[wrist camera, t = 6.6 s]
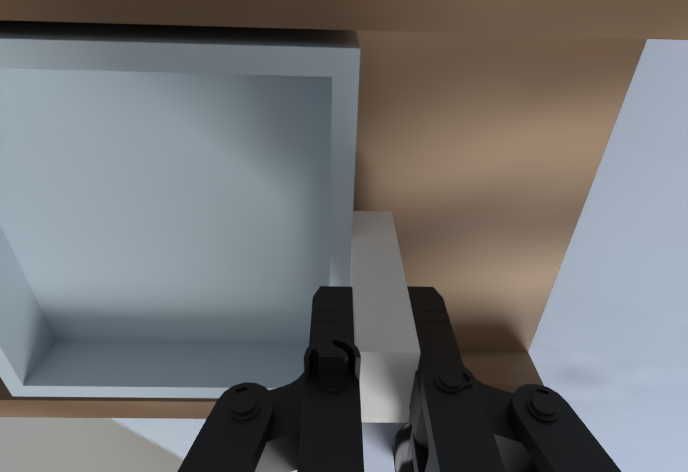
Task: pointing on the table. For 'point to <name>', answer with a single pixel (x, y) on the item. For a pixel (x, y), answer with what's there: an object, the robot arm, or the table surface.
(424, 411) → the robot arm
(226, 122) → the shallow square tray
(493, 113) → the bay
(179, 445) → the table surface
